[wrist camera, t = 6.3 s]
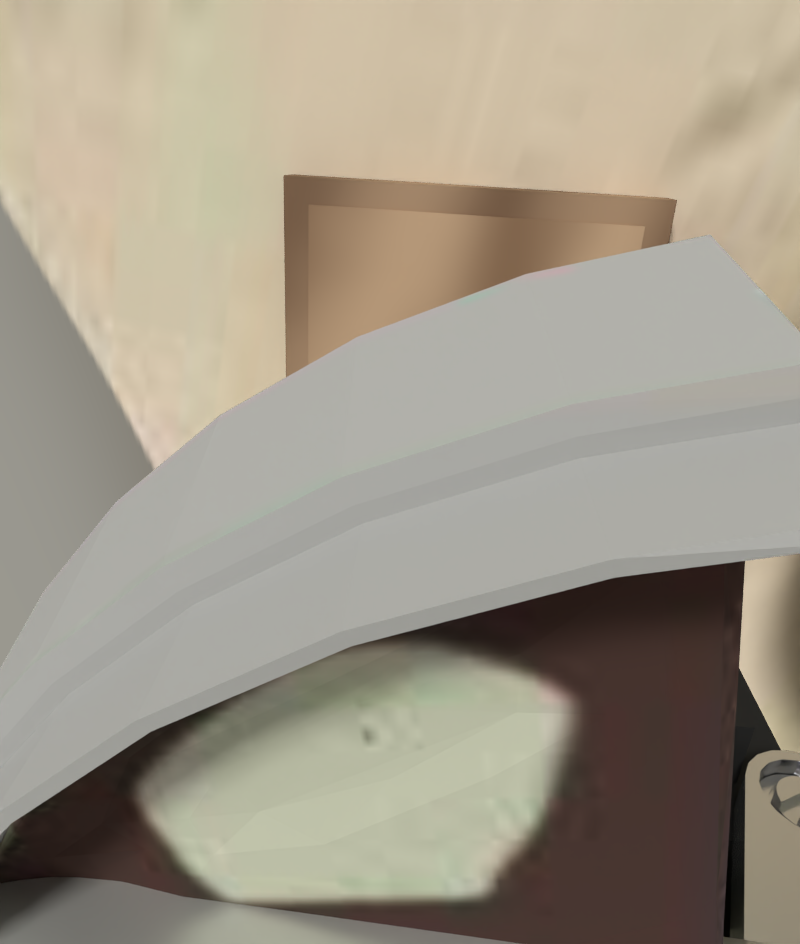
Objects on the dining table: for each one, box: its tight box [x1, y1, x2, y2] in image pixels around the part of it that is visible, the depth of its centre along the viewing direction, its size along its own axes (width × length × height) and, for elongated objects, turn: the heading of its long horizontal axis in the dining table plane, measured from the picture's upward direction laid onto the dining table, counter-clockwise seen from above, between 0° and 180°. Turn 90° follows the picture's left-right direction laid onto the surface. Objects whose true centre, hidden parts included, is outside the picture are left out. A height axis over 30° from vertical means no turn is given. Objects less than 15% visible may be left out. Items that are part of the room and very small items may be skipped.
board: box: [284, 175, 677, 377], centre depth 25 cm, size 12×12×1 cm
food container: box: [0, 235, 800, 944], centre depth 9 cm, size 12×6×10 cm, turn 8°
